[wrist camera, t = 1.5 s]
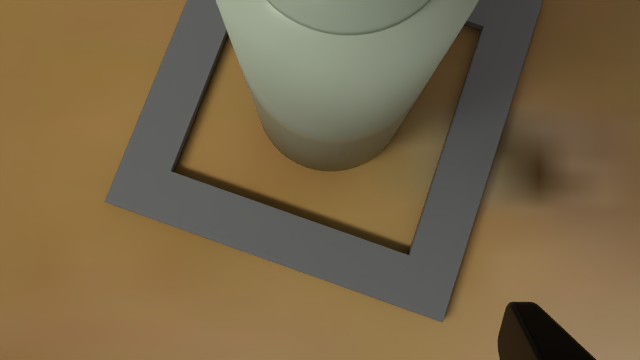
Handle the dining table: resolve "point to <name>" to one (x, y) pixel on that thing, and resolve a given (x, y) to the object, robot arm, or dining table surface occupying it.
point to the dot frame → (302, 234)
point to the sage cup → (338, 69)
